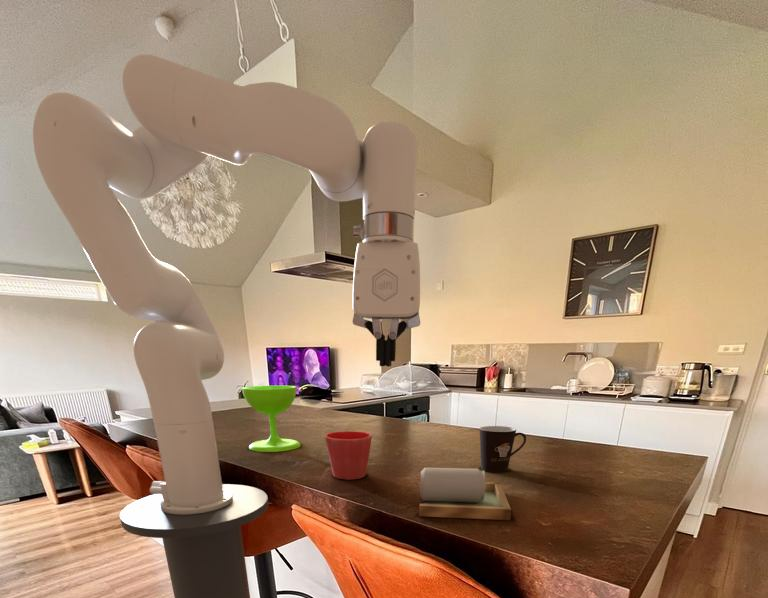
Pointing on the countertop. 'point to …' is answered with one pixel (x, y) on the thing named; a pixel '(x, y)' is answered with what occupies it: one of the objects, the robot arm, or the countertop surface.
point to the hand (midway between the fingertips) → (385, 365)
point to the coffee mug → (497, 447)
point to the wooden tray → (472, 506)
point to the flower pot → (348, 453)
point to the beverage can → (452, 485)
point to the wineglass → (271, 414)
